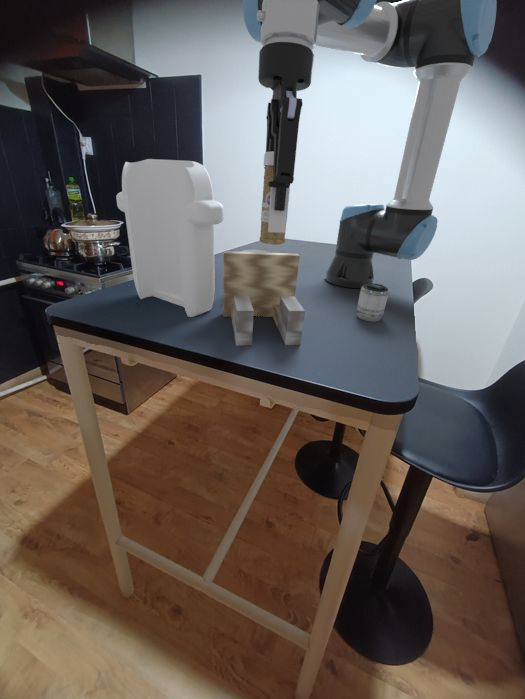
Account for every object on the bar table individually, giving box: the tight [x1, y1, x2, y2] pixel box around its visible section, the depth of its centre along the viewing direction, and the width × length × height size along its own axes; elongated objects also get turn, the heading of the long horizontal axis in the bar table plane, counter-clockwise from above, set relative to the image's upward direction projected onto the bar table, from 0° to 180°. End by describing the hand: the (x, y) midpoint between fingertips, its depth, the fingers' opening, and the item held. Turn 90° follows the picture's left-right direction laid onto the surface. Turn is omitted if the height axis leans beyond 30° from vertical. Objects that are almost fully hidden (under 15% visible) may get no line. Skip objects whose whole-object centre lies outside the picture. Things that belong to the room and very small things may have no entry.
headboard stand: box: [222, 250, 306, 347], centre depth 64 cm, size 16×16×14 cm
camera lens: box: [356, 282, 390, 323], centre depth 75 cm, size 6×6×8 cm
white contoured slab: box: [115, 158, 225, 318], centre depth 70 cm, size 27×11×30 cm, turn 56°
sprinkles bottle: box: [259, 151, 290, 246], centre depth 52 cm, size 5×5×14 cm
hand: (273, 229), depth 54 cm, fingers closed on sprinkles bottle, 4 cm apart
